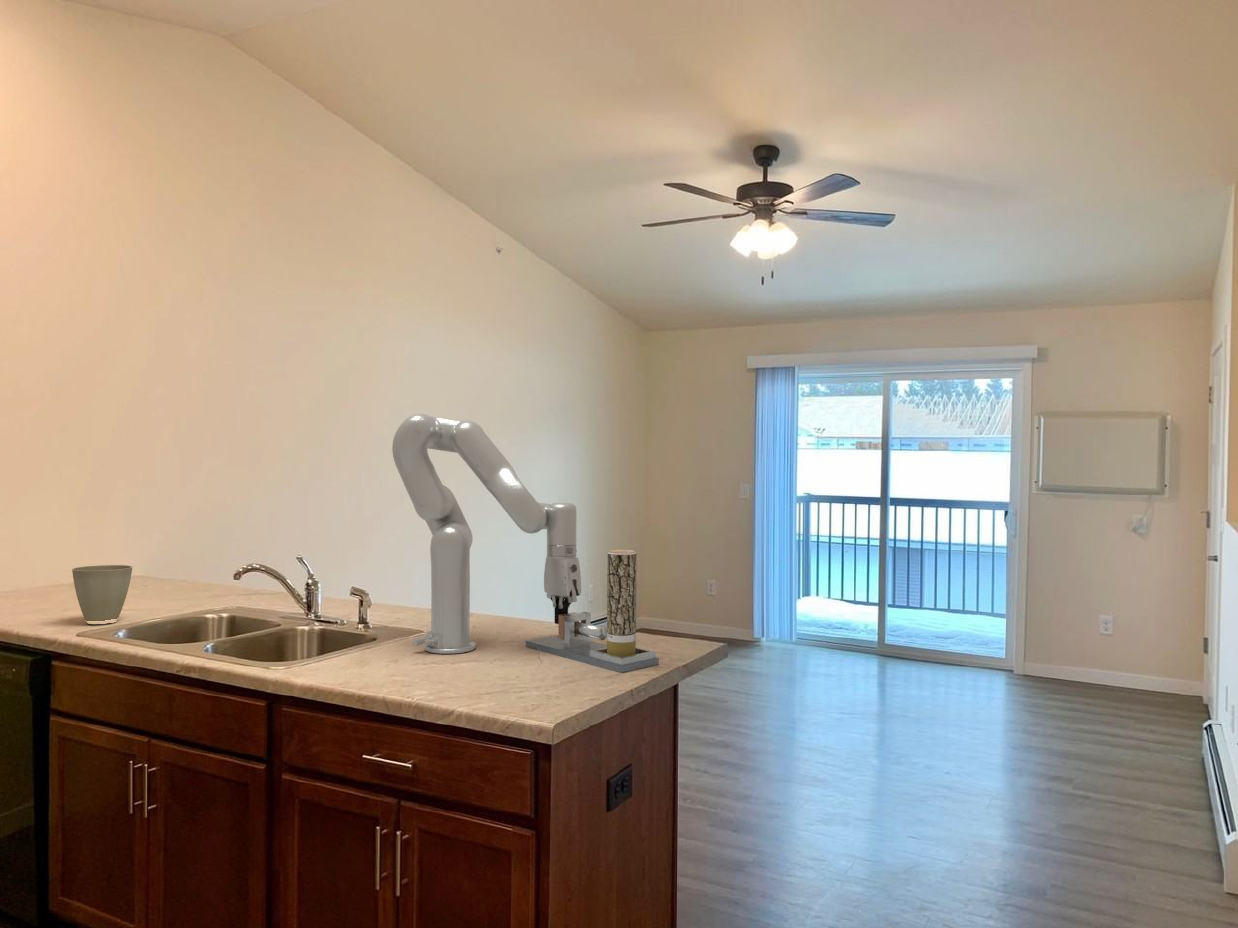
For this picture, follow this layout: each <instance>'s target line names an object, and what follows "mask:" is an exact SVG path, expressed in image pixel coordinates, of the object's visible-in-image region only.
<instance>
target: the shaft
mask: <svg viewBox="0 0 1238 928" xmlns="http://www.w3.org/2000/svg"><path fill="white" fill-rule="evenodd" d="M574 613H576V612H574V611H573V612H568V613H566V614H560V615H559V624H558V635H559V639H562V640H564V620H565V615H568V614H574ZM577 634H579V635H583V636H587V637H590V639H591V638H592V639H596V640H601V641H604V640H607V627H603V626H599V625H593V624H591V625H590V624H586V623H581V621H574V635H577Z"/></svg>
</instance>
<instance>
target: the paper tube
mask: <svg viewBox="0 0 1238 928" xmlns="http://www.w3.org/2000/svg"><path fill="white" fill-rule="evenodd" d="M637 555H638V553H637V550H634V549H612V550H611V549H609V550H607V575H606V576H607V580H606V582H607V585H606V587H607V588H606V590H607V591H606V592H607V594H606V595H607V596H606V603H607V604H606V613H607V614H606V629H607V638H606V645H607V654H611V655H614V656H618V657H626V656H631V655H636V647H637V644H636V641H637Z"/></svg>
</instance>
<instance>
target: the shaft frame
mask: <svg viewBox="0 0 1238 928" xmlns="http://www.w3.org/2000/svg"><path fill="white" fill-rule="evenodd" d="M591 615H592V614H591V612H588V611H583V612H575V613H574V614H568V615H565V620H564V640H562V639H559V634H555V635H551V636H550V635H549V636H545V637H538V638H533V639H532V638H531V639H526V640H525V641H524V643H525V647H526V648H530V649H533V650H536V649H537V650H538V651H540V650H541V652H544V653H548V654H551V655H555V656H559V657H562V658H566V659H569V660H572V661H573V660H574V661H578V662H581V663H585V664H588V665H590V666H591V665H592V666H595V667H599V668H602V669H607V670H610V671H614V672H617V673H621V674H622V673H627V672H631V671H636V670H641V669H644V668H648V667H649V668H650V667H655V666H658V665H660V662H659V661H660V660H659V659H660V658H659V657H657V655H656V654H657V651H655V650H650V649H646V648H641V647H637V646H636V655H631V656H626V657H618V656H614V655H611V654H607V644H602V643H599V642H594V641H592V640H591V637H587V636H583V635H579V634H577V635H574V621H579V622H581V623H586V624H590V625H592V623H591V622H592V621H591V620H592V619H591Z"/></svg>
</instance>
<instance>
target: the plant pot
mask: <svg viewBox="0 0 1238 928" xmlns="http://www.w3.org/2000/svg"><path fill="white" fill-rule="evenodd" d="M132 571H133V566H132V565H125V564H102V565H99V564H98V565H89V566H88V565H87V566H85V565H84V566H79V567H77V566H76V567H73V568H72V569H71V573H72V579H73V584H74V585H73V586H74V589H75V594H76V597H77V602H78V606H79V607H80V610H81V613H82V616H83V618H84V621H85V620H86V621H105V620H111V619H117V618H118V619H119V617H120V615H121V612H122V610H123V607H124V605H125V602H126V598H127V594H128V592H129V587H130V582H131V579H132V573H133V572H132ZM86 621H85V622H86Z"/></svg>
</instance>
